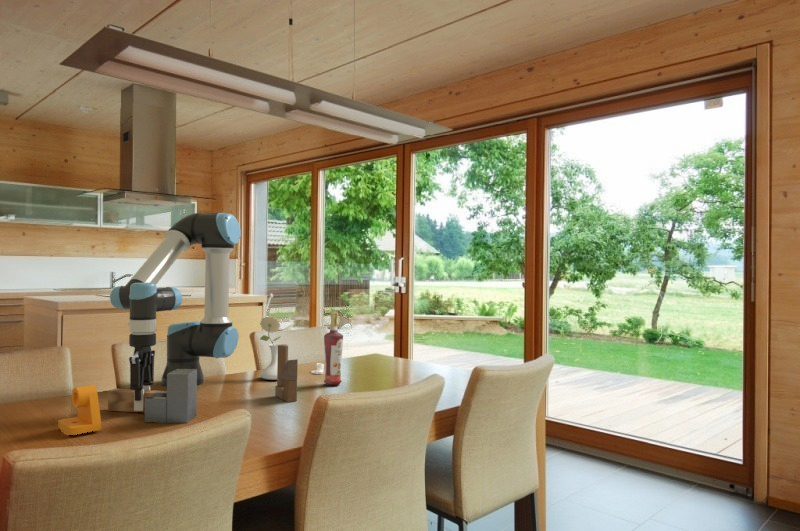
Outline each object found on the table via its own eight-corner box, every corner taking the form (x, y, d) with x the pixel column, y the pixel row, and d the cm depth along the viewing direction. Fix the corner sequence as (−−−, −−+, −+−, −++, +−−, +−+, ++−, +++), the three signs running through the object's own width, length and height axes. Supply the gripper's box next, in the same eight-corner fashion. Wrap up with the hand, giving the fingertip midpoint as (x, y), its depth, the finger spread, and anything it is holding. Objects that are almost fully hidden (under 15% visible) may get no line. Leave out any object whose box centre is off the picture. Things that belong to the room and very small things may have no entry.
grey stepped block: (156, 414, 172) (157, 368, 172) (196, 415, 173) (197, 369, 173) (144, 422, 164) (145, 374, 164) (186, 423, 164) (187, 374, 164)
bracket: (56, 430, 155) (57, 386, 155) (85, 424, 161) (86, 382, 161) (71, 438, 148) (72, 392, 148) (101, 432, 154) (101, 388, 154)
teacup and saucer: (319, 376, 238) (320, 366, 238) (305, 373, 242) (305, 364, 242) (333, 373, 245) (333, 363, 245) (319, 370, 250) (319, 361, 250)
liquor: (334, 387, 214) (335, 313, 214) (319, 385, 218) (320, 312, 218) (346, 384, 221) (347, 312, 221) (331, 382, 225) (332, 310, 224)
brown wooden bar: (107, 410, 175) (108, 391, 175) (114, 407, 179) (115, 388, 179) (169, 413, 173) (170, 394, 173) (175, 410, 177) (175, 391, 177)
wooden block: (287, 402, 191) (288, 348, 191) (274, 396, 199) (275, 344, 199) (297, 401, 193) (298, 348, 193) (284, 394, 202) (285, 343, 201)
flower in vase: (294, 377, 231) (295, 316, 231) (276, 383, 221) (278, 318, 221) (268, 374, 237) (269, 314, 237) (249, 379, 226) (251, 316, 226)
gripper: (142, 329, 184) (141, 401, 184) (117, 336, 167) (116, 416, 167) (165, 329, 184) (164, 401, 185) (143, 336, 167) (142, 416, 168)
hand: (142, 408), depth 176 cm, fingers closed on brown wooden bar, 4 cm apart
